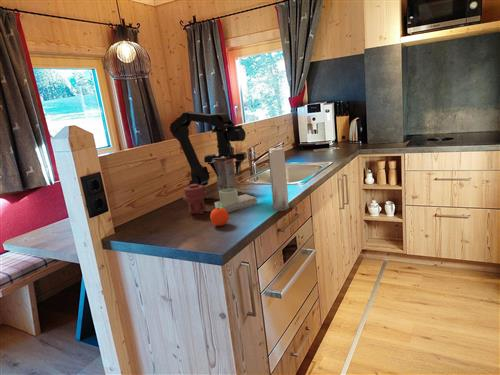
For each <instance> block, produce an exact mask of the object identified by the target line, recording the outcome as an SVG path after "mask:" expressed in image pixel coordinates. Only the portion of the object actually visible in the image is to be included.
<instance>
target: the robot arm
mask: <svg viewBox="0 0 500 375" xmlns="http://www.w3.org/2000/svg"><path fill="white" fill-rule="evenodd" d="M192 122H197V123H204V124H205V123H206V124H209V125H210V126H212V127H214V128H213V129H212V130H211V133H215V137H216V143H217V145H216V148H217V154H218V152H219V154H218V156H216V155H217V154H215V153H212V154H207V155H204V157H203V161H204V163H206V164H207V165H209V166H210V167H211V168H212V170H213V171H214V173H215V175H217V176H216V178H217V177H218V176H219V172H218V167H217V160H222V159H233V160H234V159H235V162H234V165H235V175H236V176H238V175H239V172H240V169H241V164H242V162H244V161H245V160H247V158H248V154H247V152H245V151H238V152H237V153H235V147H233V146H232V143H231V142H244V141H245V139H246V132H245V129H244V128H243V125H242V124H241V125H235V124H234V122H233V121H232V120H231V119H230V116H229V114H228V113H227V112H221V113H220V112H219V113H212V114H211V113H204V112H195V111H184V112H183V113H181V115H180V116H178V117H177V118H176V119H175V120H173V121H172V122H171V123H170V125H169V131H170V134H172V136H173V137H174V138H175V139H176V140H177V141H178V142H179V144H180V147H181V150H182V152H183V153H184V156H185V158H186V160H187V163H188V164H189V167H190V178H191V180H190V181H189V183H188V186H189V185H191V184H198V185H203V186H204V192H206V187H205V186H207V185H208V184H209V180H210V177H211V176H210V172H209V171H208V167H207V166H206V165H205V166H203V165H201V163H200V160H199V158H198V156H197V153H196V151H195V149H194V146H193V144H192V142H191V140H190V137H189V136H190V129H189V127H190V125H191V123H192ZM223 156H224V157H223ZM215 160H216V161H215ZM188 186H187V187H188ZM207 199H210V197H209V196H207V197H206V198H204V200H207Z"/></svg>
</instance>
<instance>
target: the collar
mask: <svg viewBox="0 0 500 375" xmlns="http://www.w3.org/2000/svg"><path fill="white" fill-rule="evenodd" d="M238 194H239V193H238V188H237V189H236V188H227V189H222V190H220V191H218V195H219V201H220V203H221V204H233V203H236V202H238V196H239V195H238Z"/></svg>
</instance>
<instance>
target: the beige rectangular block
mask: <svg viewBox="0 0 500 375" xmlns="http://www.w3.org/2000/svg"><path fill="white" fill-rule="evenodd" d="M257 204H258V202H257V197H256V196H252V195H250V194H246V193H245V194H241V195H238V202H236V203H233V204H221V203H220V200H218V201H215V202H214V209H215V208H218V207H223V208H224V207H225V208H224V209H225V210H226V209H227V210H226V211H227V212H228V213H232V212H235V211H238V210H241V209H245V208H249V207H252V206H256V205H257Z"/></svg>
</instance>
